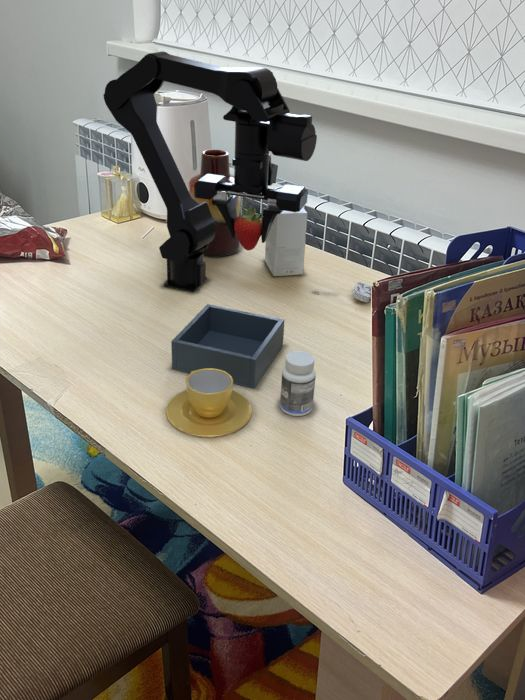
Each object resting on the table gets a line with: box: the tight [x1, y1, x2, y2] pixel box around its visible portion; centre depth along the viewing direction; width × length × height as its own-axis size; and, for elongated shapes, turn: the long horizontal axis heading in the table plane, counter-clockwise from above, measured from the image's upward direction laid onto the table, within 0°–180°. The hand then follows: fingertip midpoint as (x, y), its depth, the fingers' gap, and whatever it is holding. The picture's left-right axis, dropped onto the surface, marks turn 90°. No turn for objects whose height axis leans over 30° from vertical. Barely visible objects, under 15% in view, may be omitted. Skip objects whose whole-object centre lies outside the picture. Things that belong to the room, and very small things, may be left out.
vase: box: [188, 148, 242, 258], centre depth 144 cm, size 11×11×20 cm
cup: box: [165, 368, 253, 437], centre depth 96 cm, size 12×12×5 cm
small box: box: [264, 207, 309, 277], centre depth 138 cm, size 8×6×13 cm
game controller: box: [315, 281, 372, 303], centre depth 130 cm, size 6×12×3 cm, turn 100°
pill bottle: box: [279, 350, 317, 417], centre depth 97 cm, size 5×5×8 cm
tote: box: [170, 303, 285, 389], centre depth 109 cm, size 14×14×5 cm
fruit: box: [234, 206, 263, 251], centre depth 121 cm, size 5×5×8 cm
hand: (249, 239), depth 122 cm, fingers closed on fruit, 5 cm apart
